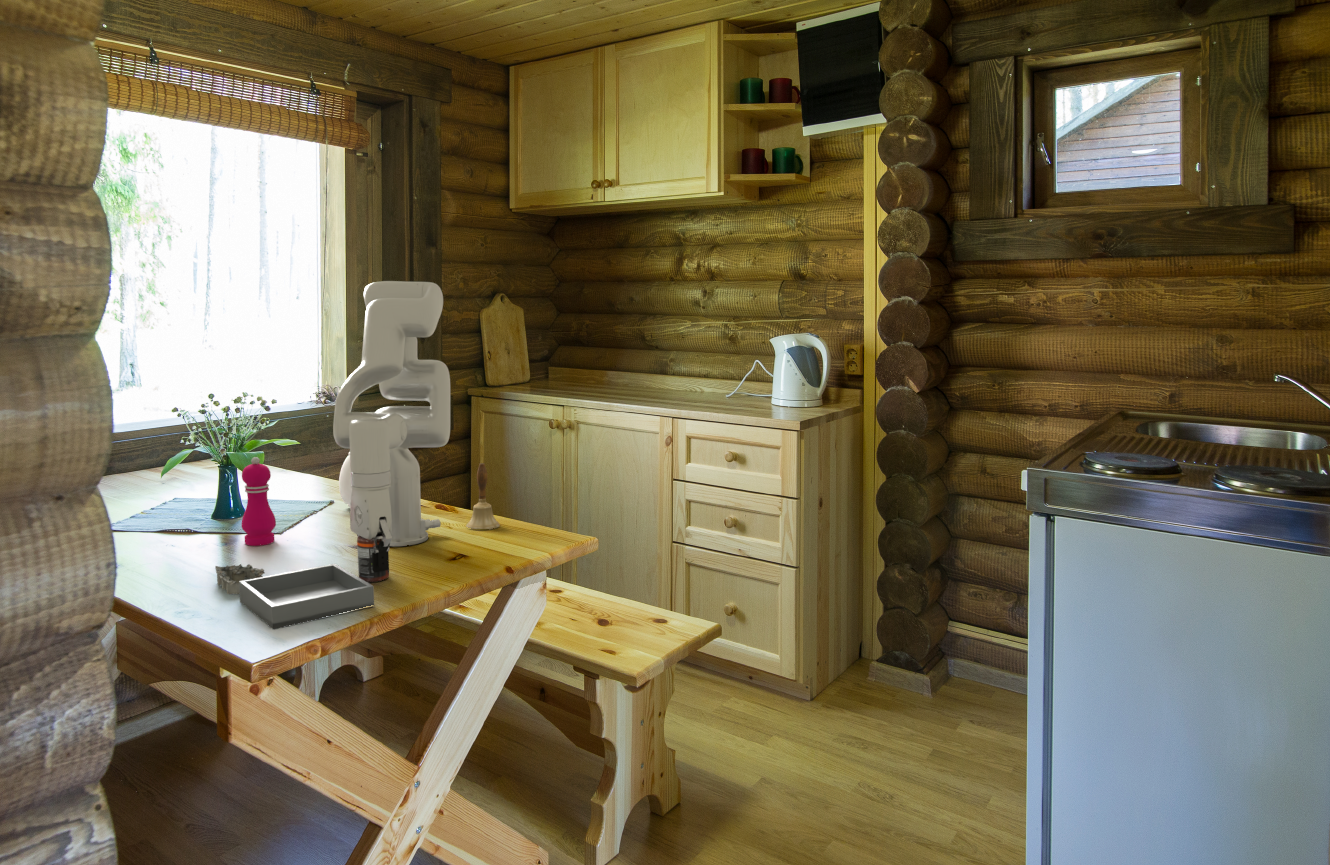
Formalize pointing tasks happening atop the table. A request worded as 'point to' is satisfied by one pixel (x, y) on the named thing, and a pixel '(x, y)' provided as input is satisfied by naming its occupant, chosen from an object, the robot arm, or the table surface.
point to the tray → (305, 595)
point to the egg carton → (235, 576)
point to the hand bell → (482, 505)
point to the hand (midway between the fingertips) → (373, 566)
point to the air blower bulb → (345, 481)
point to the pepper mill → (257, 505)
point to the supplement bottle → (368, 561)
